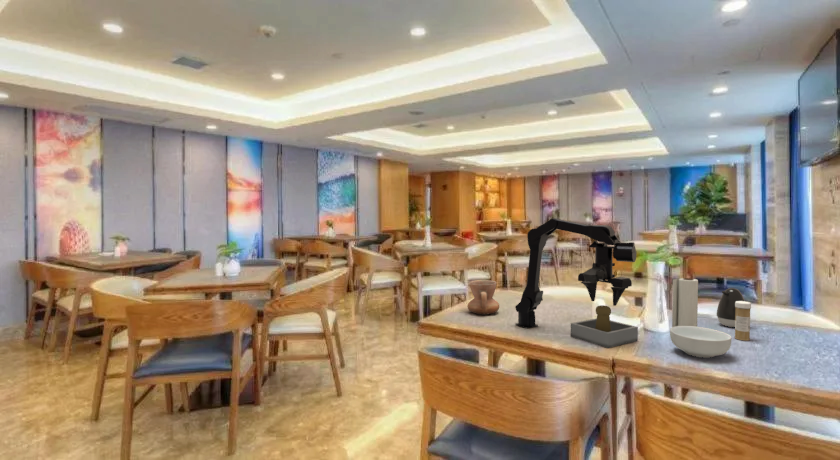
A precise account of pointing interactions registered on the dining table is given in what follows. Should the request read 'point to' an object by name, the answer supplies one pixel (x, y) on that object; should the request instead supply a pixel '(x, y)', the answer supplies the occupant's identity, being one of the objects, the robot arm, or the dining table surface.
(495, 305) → the ceramic jug
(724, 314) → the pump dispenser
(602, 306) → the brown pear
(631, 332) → the tray
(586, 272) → the robot arm
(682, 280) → the grey tall block
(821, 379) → the dining table surface
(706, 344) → the cereal bowl
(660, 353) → the dining table surface
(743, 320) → the sprinkles bottle
